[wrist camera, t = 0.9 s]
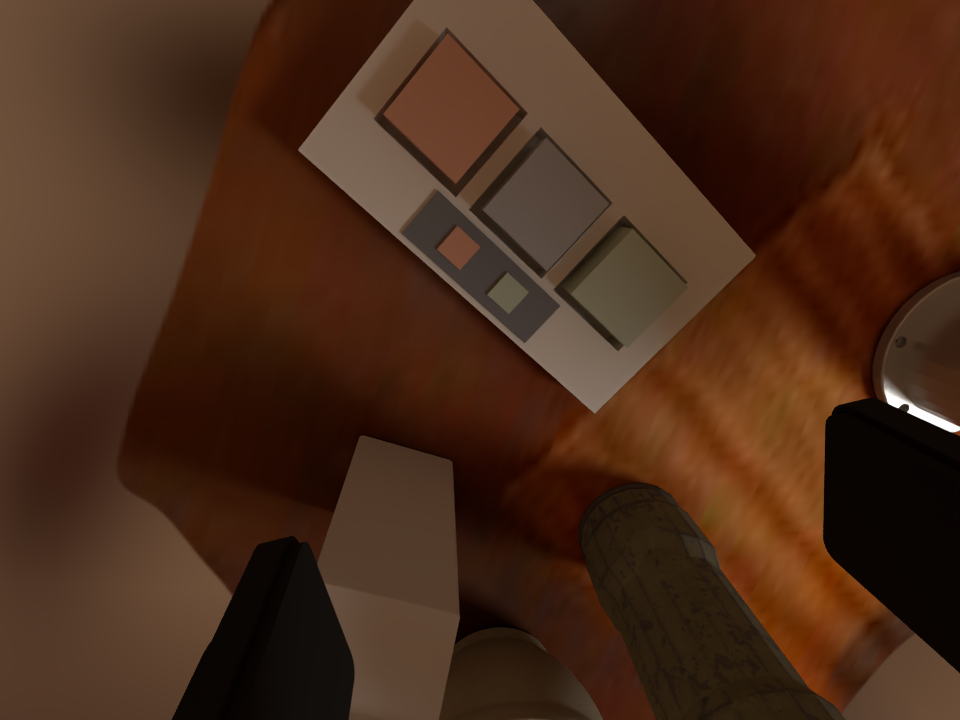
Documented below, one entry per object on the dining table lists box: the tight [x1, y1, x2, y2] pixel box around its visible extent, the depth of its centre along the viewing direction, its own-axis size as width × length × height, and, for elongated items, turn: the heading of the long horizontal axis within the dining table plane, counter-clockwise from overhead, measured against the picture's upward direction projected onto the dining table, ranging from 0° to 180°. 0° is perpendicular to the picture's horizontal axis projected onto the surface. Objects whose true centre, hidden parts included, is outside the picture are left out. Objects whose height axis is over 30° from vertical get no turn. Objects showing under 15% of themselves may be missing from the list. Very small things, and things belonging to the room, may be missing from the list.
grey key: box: [480, 138, 609, 271], centre depth 30 cm, size 5×5×2 cm
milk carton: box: [317, 435, 460, 720], centre depth 30 cm, size 7×7×19 cm
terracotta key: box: [384, 34, 519, 184], centre depth 28 cm, size 5×5×2 cm
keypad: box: [298, 0, 756, 413], centre depth 31 cm, size 14×24×4 cm, turn 47°
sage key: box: [561, 226, 688, 348], centre depth 31 cm, size 5×5×2 cm
